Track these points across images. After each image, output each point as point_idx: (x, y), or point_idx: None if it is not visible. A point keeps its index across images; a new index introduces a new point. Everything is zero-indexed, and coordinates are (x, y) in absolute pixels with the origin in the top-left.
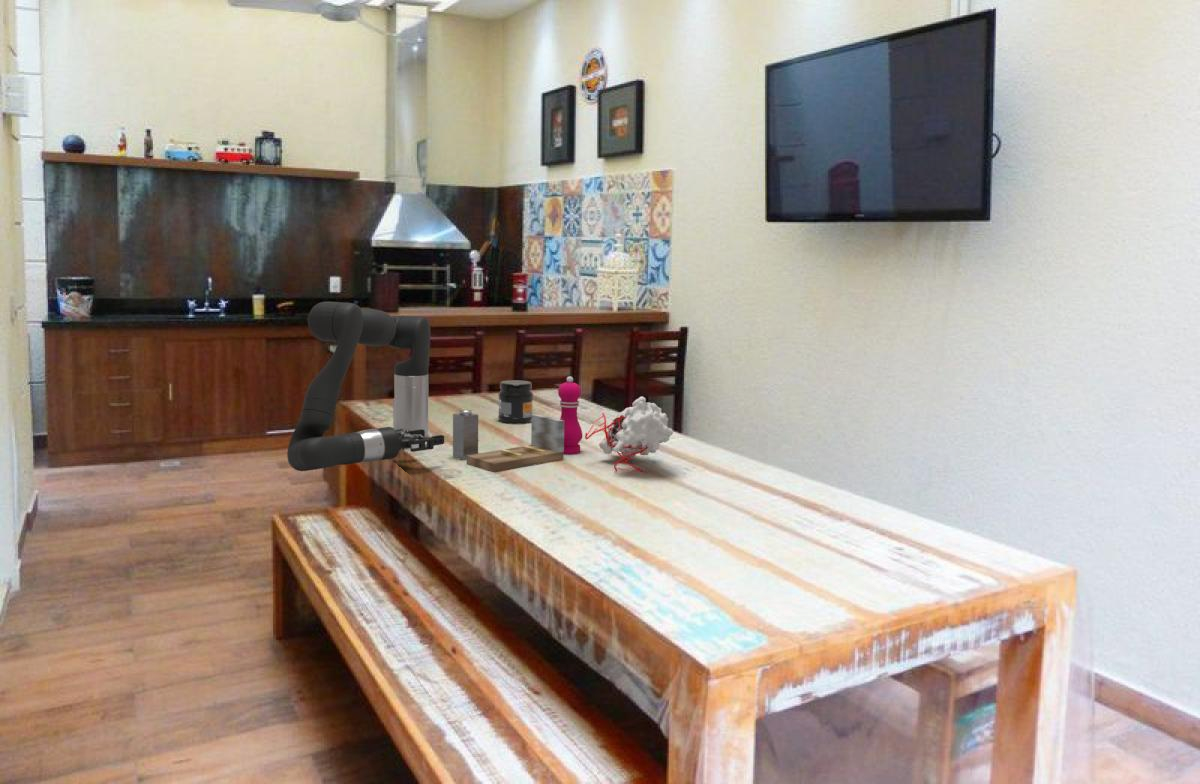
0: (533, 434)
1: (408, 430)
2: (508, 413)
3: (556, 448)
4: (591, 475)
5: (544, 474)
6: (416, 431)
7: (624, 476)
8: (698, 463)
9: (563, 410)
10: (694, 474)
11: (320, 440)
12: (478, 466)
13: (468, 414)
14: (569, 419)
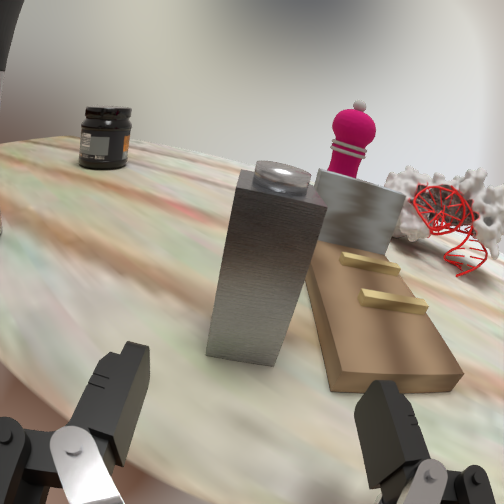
0: None
1: (76, 435)
2: (103, 154)
3: (379, 247)
4: (478, 302)
5: (473, 335)
6: (128, 401)
7: (481, 287)
8: None
9: (349, 162)
10: (470, 257)
11: None
12: None
13: (307, 189)
14: None
